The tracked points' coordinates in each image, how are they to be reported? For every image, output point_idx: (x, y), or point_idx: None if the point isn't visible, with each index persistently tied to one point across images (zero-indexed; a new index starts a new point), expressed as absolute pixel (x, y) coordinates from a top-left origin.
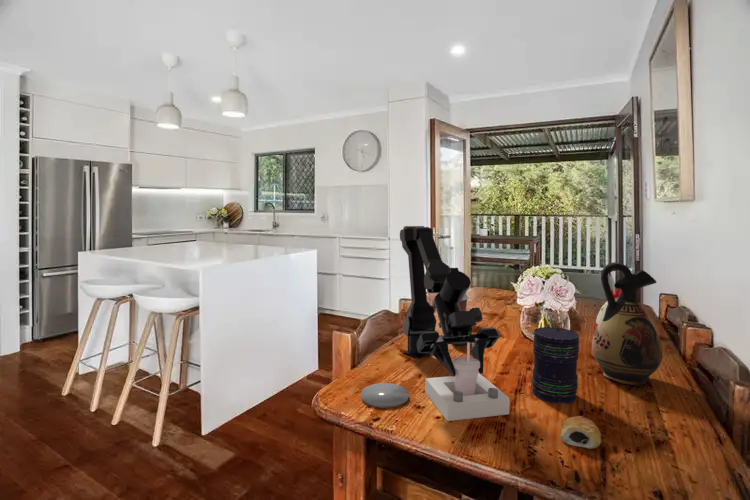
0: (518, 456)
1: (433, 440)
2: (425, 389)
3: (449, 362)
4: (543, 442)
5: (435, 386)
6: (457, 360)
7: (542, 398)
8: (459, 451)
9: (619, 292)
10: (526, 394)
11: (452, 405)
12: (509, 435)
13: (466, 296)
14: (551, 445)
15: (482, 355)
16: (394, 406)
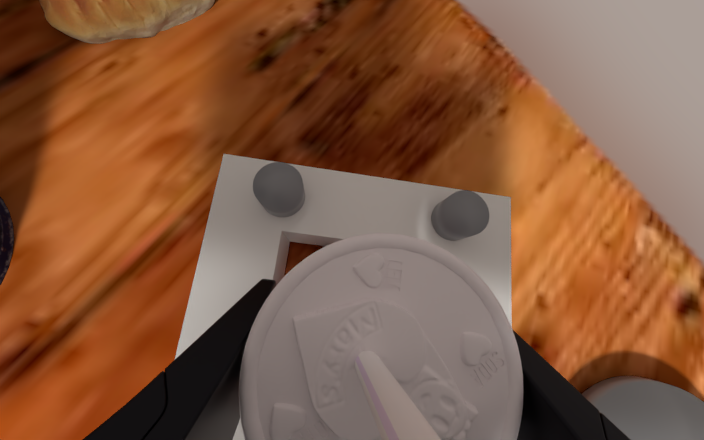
0: (376, 4)
1: (550, 136)
2: None
3: (561, 386)
4: (269, 21)
5: None
6: (471, 408)
7: (4, 228)
8: (503, 72)
9: None
10: (25, 305)
11: (487, 195)
12: (335, 80)
13: None
14: (260, 4)
15: (156, 391)
16: (623, 376)
